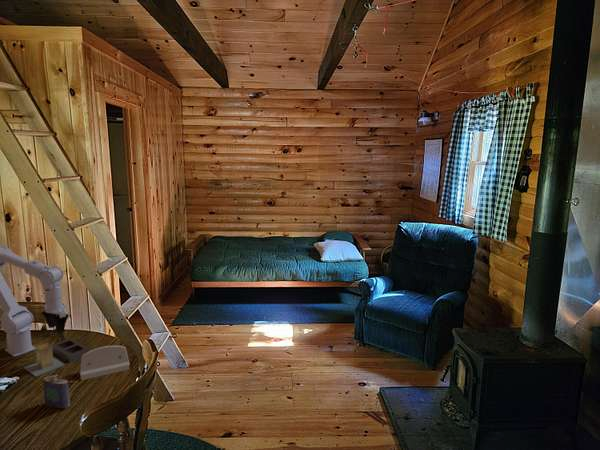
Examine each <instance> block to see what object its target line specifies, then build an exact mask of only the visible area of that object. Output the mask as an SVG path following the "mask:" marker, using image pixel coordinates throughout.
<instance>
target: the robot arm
mask: <svg viewBox="0 0 600 450" xmlns="http://www.w3.org/2000/svg"><path fill="white" fill-rule="evenodd" d="M6 264H9V265H12V266H14V267H17V268H20V269H23V270H24V273H25V274H27V275H29V276H31V277H33V278H36V279H37V280H38V281H39V282H40V284H41V286H42V289H43V292H44V294H43V295H44V302H45V304H43V309H44V311H42V312H41V315H42V316H43V317H44V319H45V321H46V324H47V327H48V328H49V329H51V328H55V330H56V333H57V334H61V333H64V331H65V328H66V323H67V321H68V318H69V317H70V316H69V314H67V313H66V311H65V308H67V306H66V304H63V294H62V285H61V284H62V283H61V280H63V278H64V271H63V270H62V269H61V268H60V267H58V266H50V265H48V264H44V263H41V262H40V260H38V259H35V260H34V259H33V260H27V259H26V258H24V257H23V256H20V255H18V254H16V253H14V252H13V251H12V249H11V248H10V247H9V248H8V247H7V246H5V245H4V246H3V245H1V246H0V308H1V310H2V315H1V317H0V322H1V327H2V330H3V331H4V332H5V333H6V343H7V348H5V349H4V351H5V352H6V353H8V354H10V355H11V356H12V357H18V356H20V355H23V354H27V353H29V352H31V351H32V352H33V351H36V346H34V345H33V344H32V335H31V328H32V324H33V323H34V320H35V317H34V315H33V313H31V311H29V310H28V308H27V307H26V306H22V305H20V304H19V303H18V301H17V299H16V298H15V297H16V296H14V294H13V292H12V290H11V288H10V287H9V285H8V283H7V281H6V280H5V277H3V274H2V273H1V271H2V268H3V267H4V266H5V265H6Z"/></svg>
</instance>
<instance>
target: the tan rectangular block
mask: <svg viewBox="0 0 600 450" xmlns="http://www.w3.org/2000/svg"><path fill="white" fill-rule="evenodd" d="M52 345H53V344H50V343H49V342H46V343H42V344H40V345H36V346H35V348H36V349H35V354H36V363H37V366H38V367H39V368H41V369H45V368H47V367H50V366H52V365H54V362H53V357H54V352H52Z"/></svg>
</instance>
